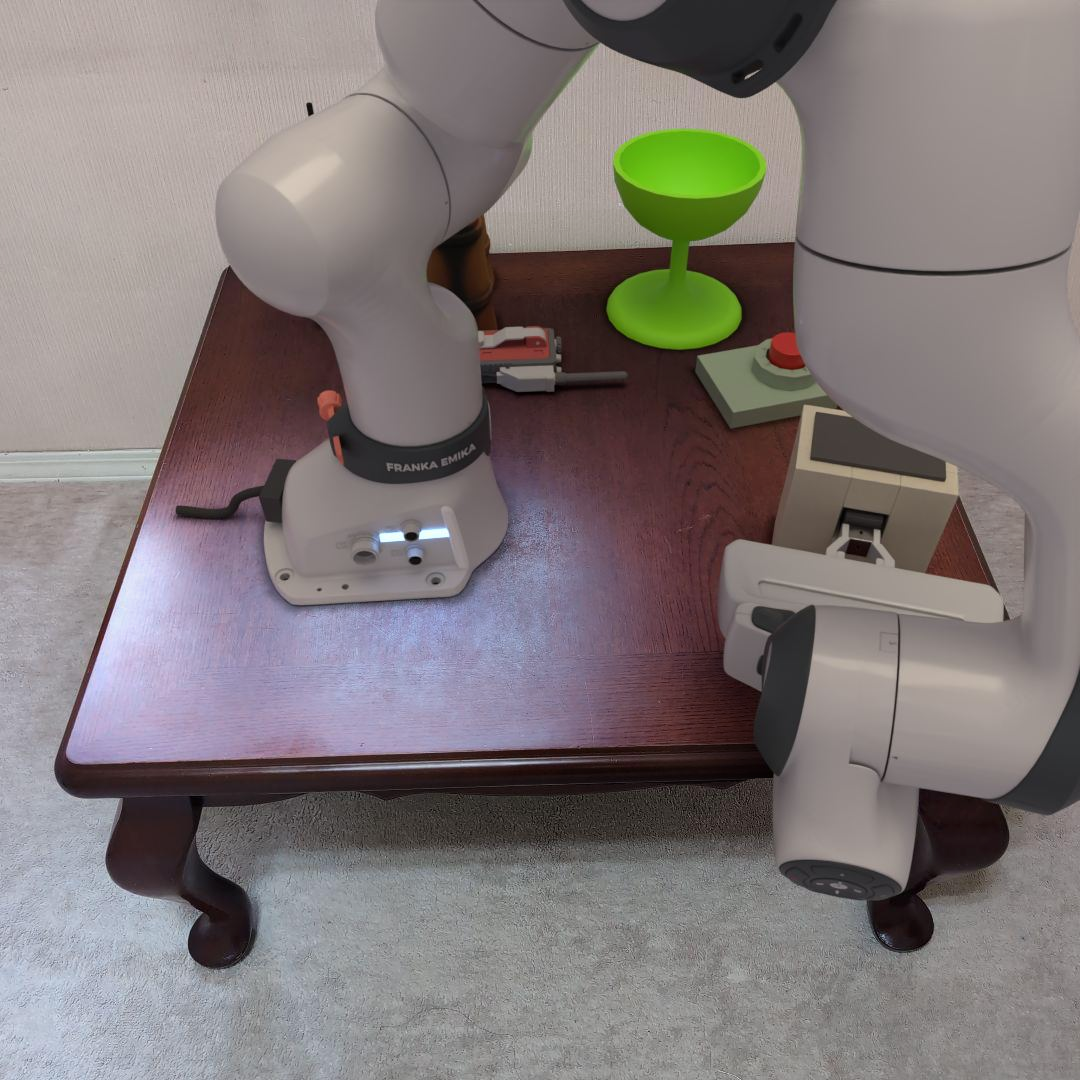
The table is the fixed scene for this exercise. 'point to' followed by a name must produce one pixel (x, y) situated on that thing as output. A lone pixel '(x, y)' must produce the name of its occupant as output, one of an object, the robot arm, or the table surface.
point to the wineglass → (682, 231)
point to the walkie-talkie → (528, 360)
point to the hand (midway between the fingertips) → (859, 531)
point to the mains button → (785, 352)
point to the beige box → (862, 489)
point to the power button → (861, 518)
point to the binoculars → (467, 271)
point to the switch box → (757, 386)
